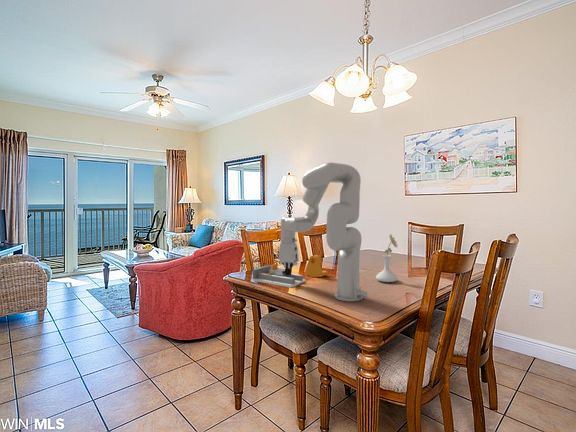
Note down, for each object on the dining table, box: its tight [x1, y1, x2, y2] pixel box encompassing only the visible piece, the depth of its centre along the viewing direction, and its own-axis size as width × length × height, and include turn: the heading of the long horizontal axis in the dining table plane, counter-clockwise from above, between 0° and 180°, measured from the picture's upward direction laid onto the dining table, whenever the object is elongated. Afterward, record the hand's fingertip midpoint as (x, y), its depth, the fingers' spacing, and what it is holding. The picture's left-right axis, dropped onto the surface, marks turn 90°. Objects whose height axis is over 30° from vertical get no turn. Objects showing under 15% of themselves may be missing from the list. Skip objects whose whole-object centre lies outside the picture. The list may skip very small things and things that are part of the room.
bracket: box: [305, 254, 328, 278], centre depth 181 cm, size 11×7×12 cm
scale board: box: [252, 264, 306, 288], centre depth 169 cm, size 25×14×6 cm, turn 56°
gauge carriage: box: [267, 263, 288, 277], centre depth 169 cm, size 8×11×7 cm
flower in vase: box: [375, 234, 399, 283], centre depth 167 cm, size 13×11×25 cm
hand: (288, 275), depth 165 cm, fingers closed
